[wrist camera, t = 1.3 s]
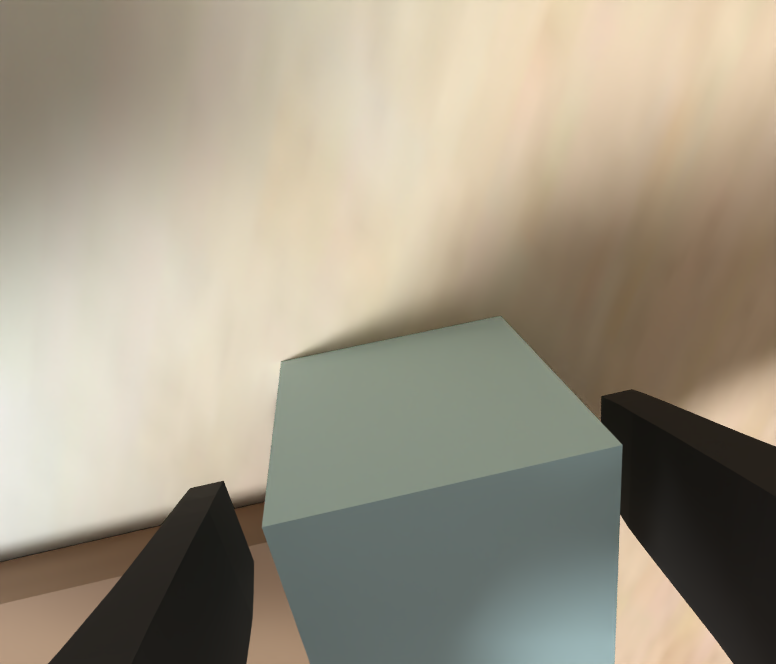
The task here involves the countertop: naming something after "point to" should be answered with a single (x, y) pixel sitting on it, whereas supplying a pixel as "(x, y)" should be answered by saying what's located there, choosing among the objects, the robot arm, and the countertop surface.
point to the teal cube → (443, 504)
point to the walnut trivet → (100, 574)
